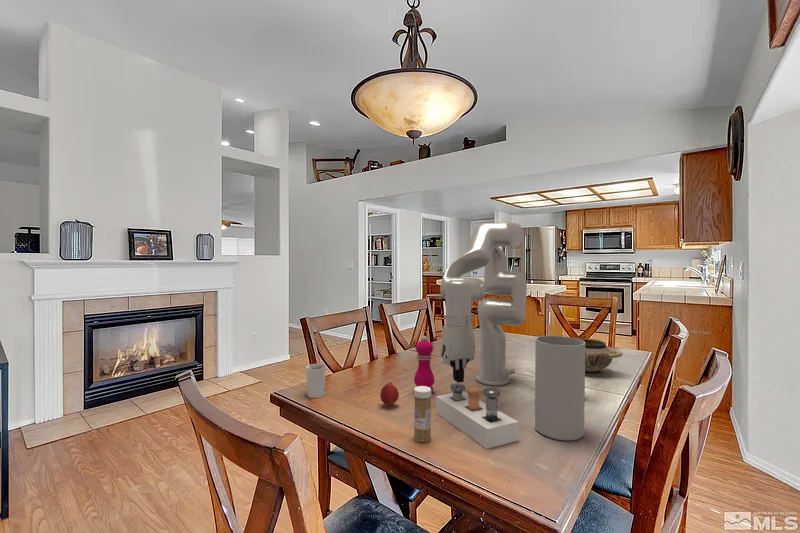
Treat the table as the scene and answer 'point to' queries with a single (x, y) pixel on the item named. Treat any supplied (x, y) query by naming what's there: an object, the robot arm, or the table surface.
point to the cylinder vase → (560, 387)
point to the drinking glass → (315, 380)
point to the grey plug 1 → (457, 391)
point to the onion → (389, 394)
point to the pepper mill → (424, 364)
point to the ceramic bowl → (597, 356)
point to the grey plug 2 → (491, 404)
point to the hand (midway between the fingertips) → (458, 380)
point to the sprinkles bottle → (422, 414)
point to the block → (477, 421)
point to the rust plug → (473, 397)
